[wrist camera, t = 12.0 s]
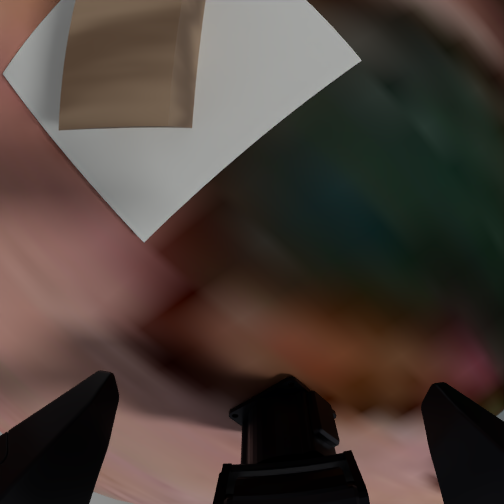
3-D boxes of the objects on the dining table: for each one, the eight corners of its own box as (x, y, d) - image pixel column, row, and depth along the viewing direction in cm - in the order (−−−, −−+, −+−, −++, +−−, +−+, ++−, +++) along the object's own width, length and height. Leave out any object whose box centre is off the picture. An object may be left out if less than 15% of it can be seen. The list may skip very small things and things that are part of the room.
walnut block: (167, 126, 11) (198, -79, 8) (58, 130, 11) (93, -62, 8) (192, 128, 16) (210, -33, 12) (106, 128, 16) (127, -26, 12)
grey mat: (147, 238, 19) (144, 242, 18) (9, 74, 15) (2, 73, 14) (357, 63, 15) (361, 60, 14) (182, -88, 11) (179, -94, 10)
